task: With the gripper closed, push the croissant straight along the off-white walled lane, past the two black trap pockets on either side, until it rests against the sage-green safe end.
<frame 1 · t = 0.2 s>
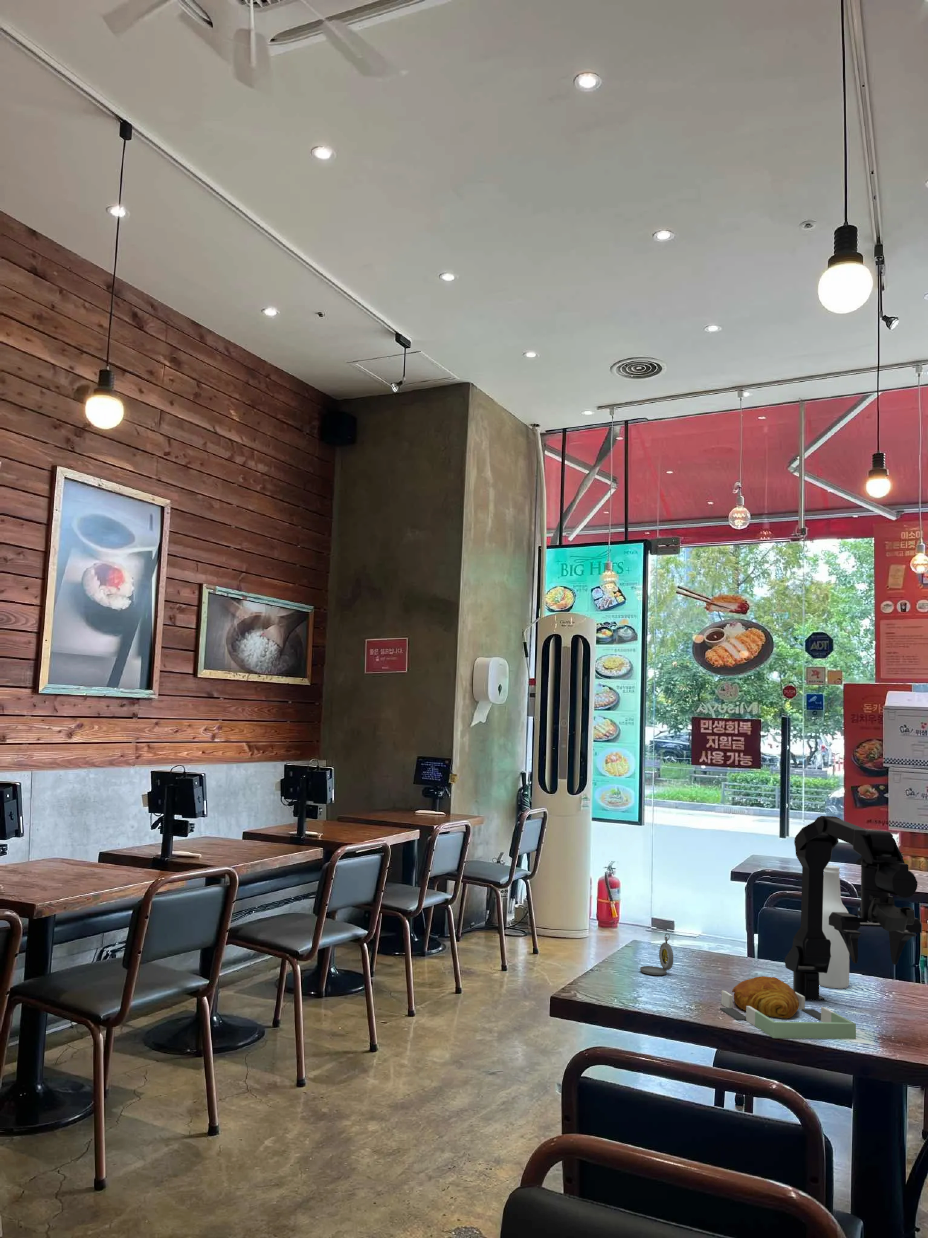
hand: (874, 963, 196), 14 cm above the table, tool pointing down, fingers open, 9 cm apart
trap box: (785, 1021, 200), on the table
pocket watch: (657, 974, 235), on the table
white bottle: (830, 985, 235), on the table
croissant: (765, 1010, 208), on the table
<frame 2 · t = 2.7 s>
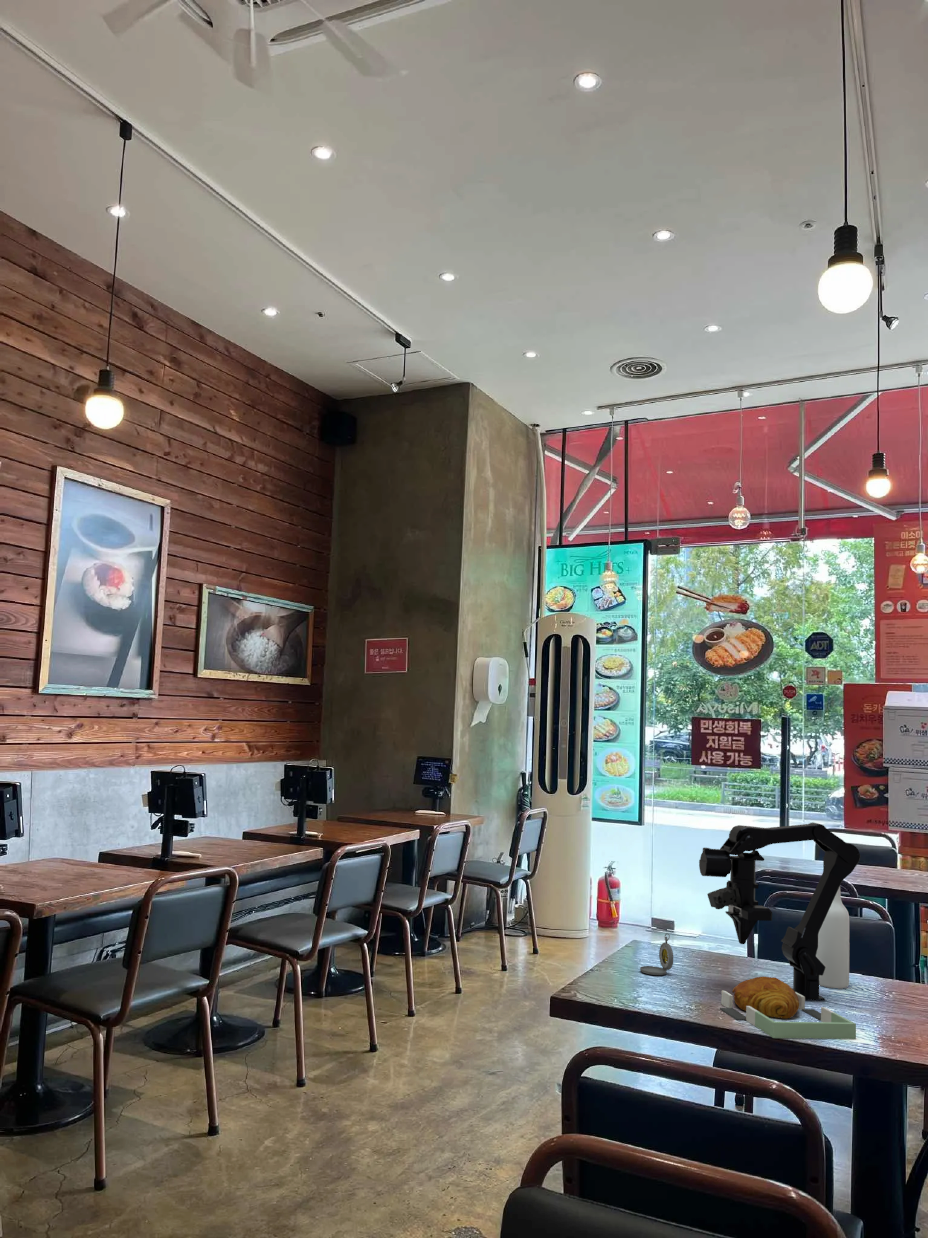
hand: (741, 944, 222), 12 cm above the table, tool pointing down, fingers closed
nothing on the table moved.
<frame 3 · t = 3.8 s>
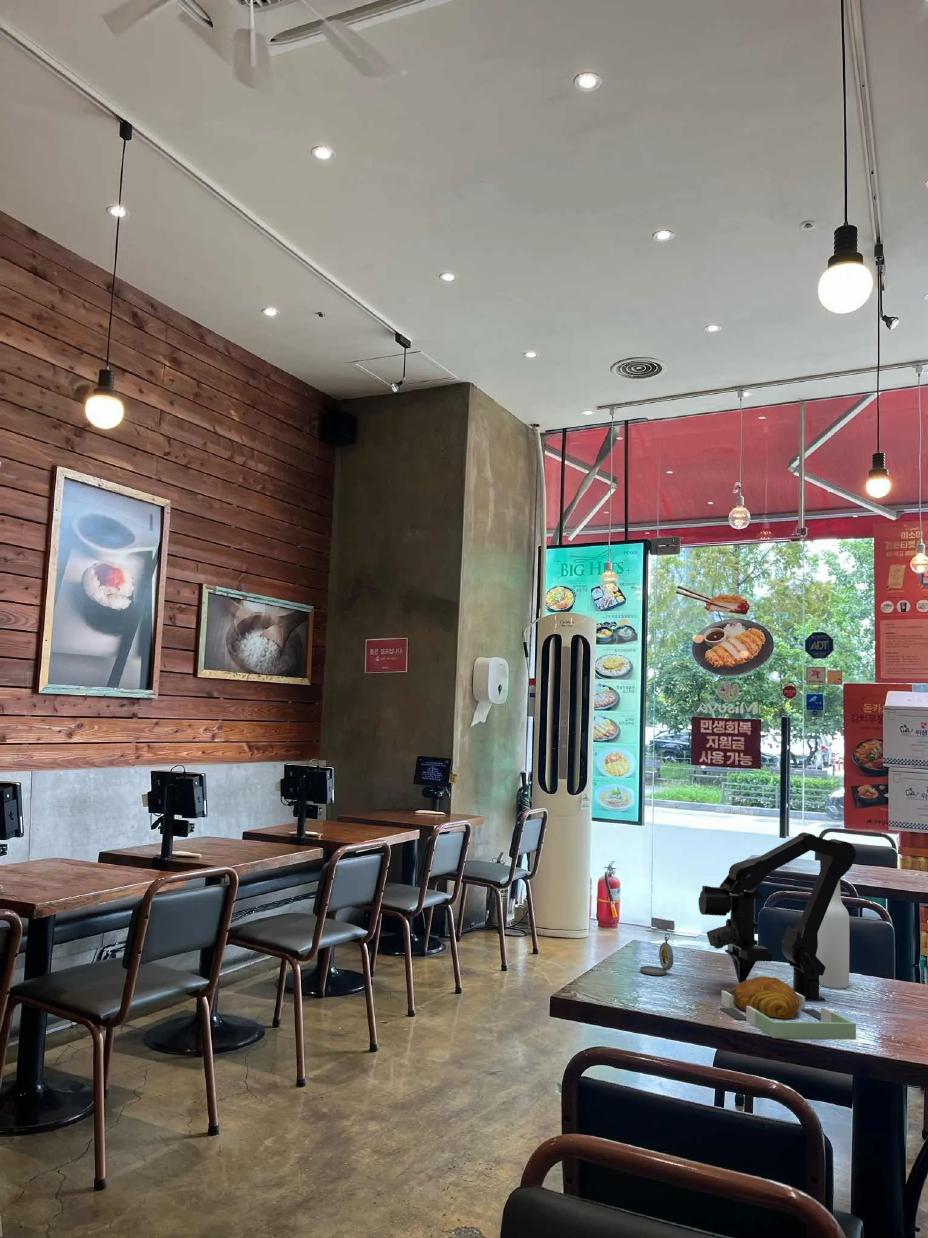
hand: (741, 983, 220), 3 cm above the table, tool pointing down, fingers closed
nothing on the table moved.
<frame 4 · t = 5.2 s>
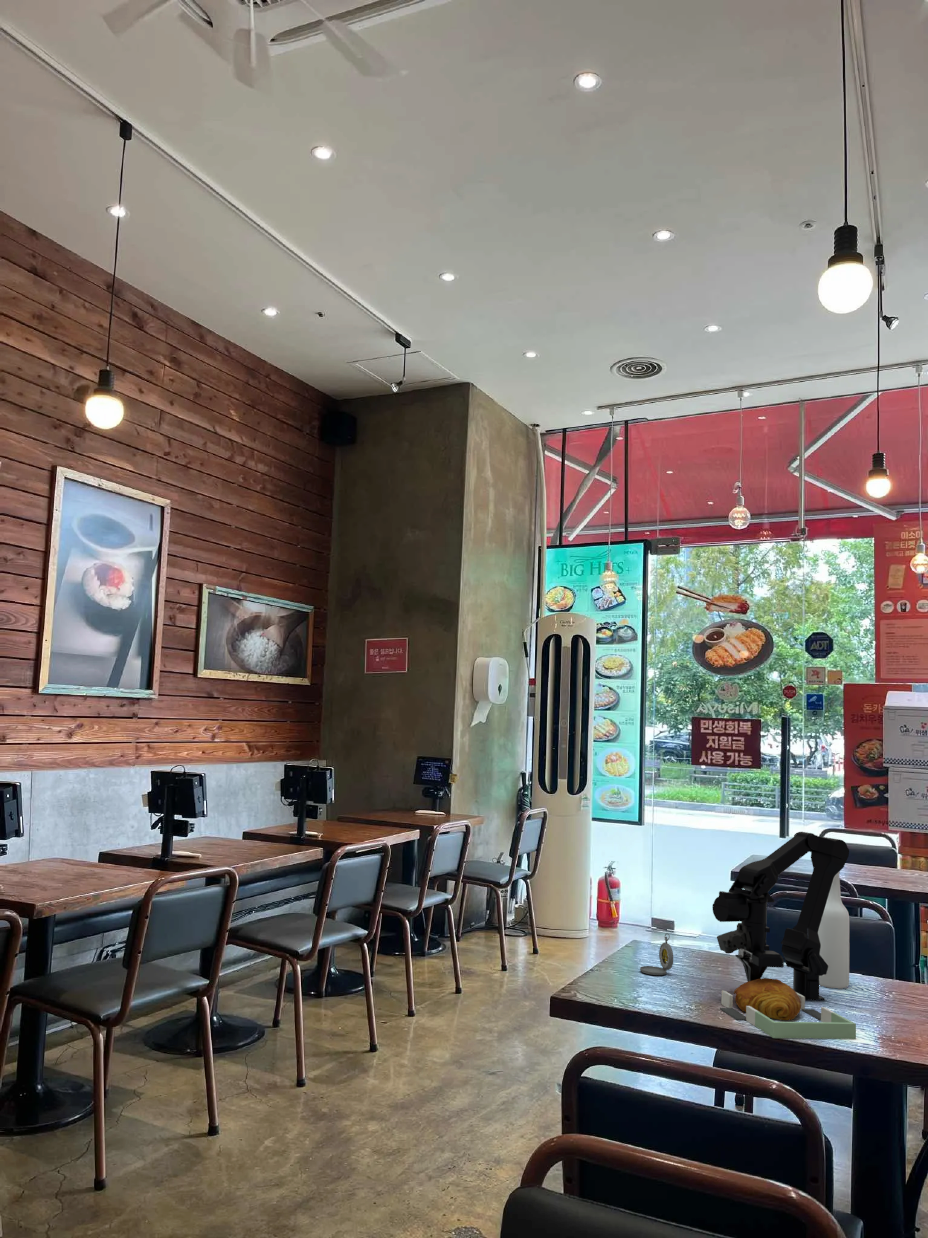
hand: (752, 989, 215), 3 cm above the table, tool pointing down, fingers closed
croissant: (766, 1012, 207), on the table, touching gripper
everything else where it was.
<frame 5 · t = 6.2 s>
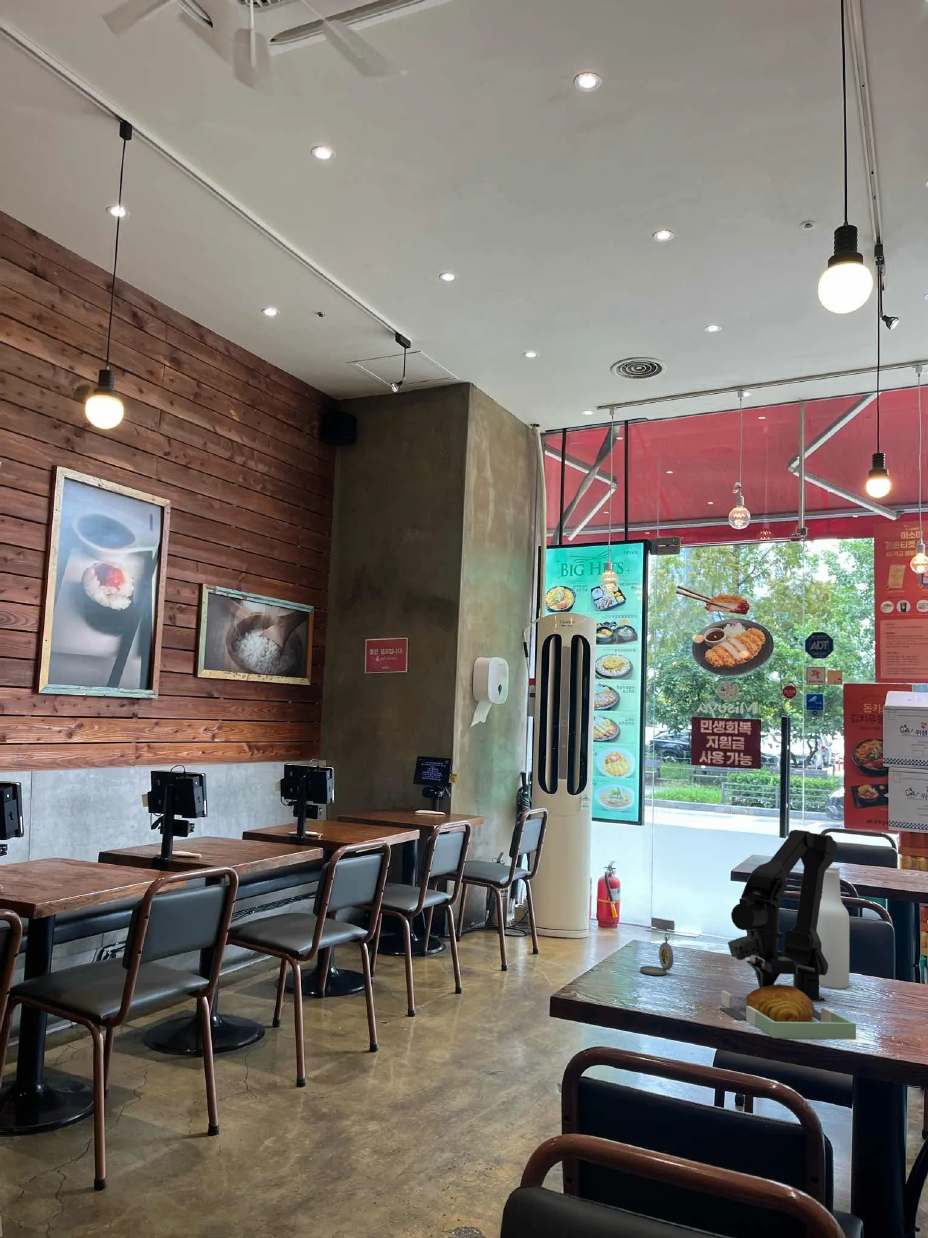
hand: (764, 996, 209), 3 cm above the table, tool pointing down, fingers closed
croissant: (779, 1019, 202), on the table
everything else where it was.
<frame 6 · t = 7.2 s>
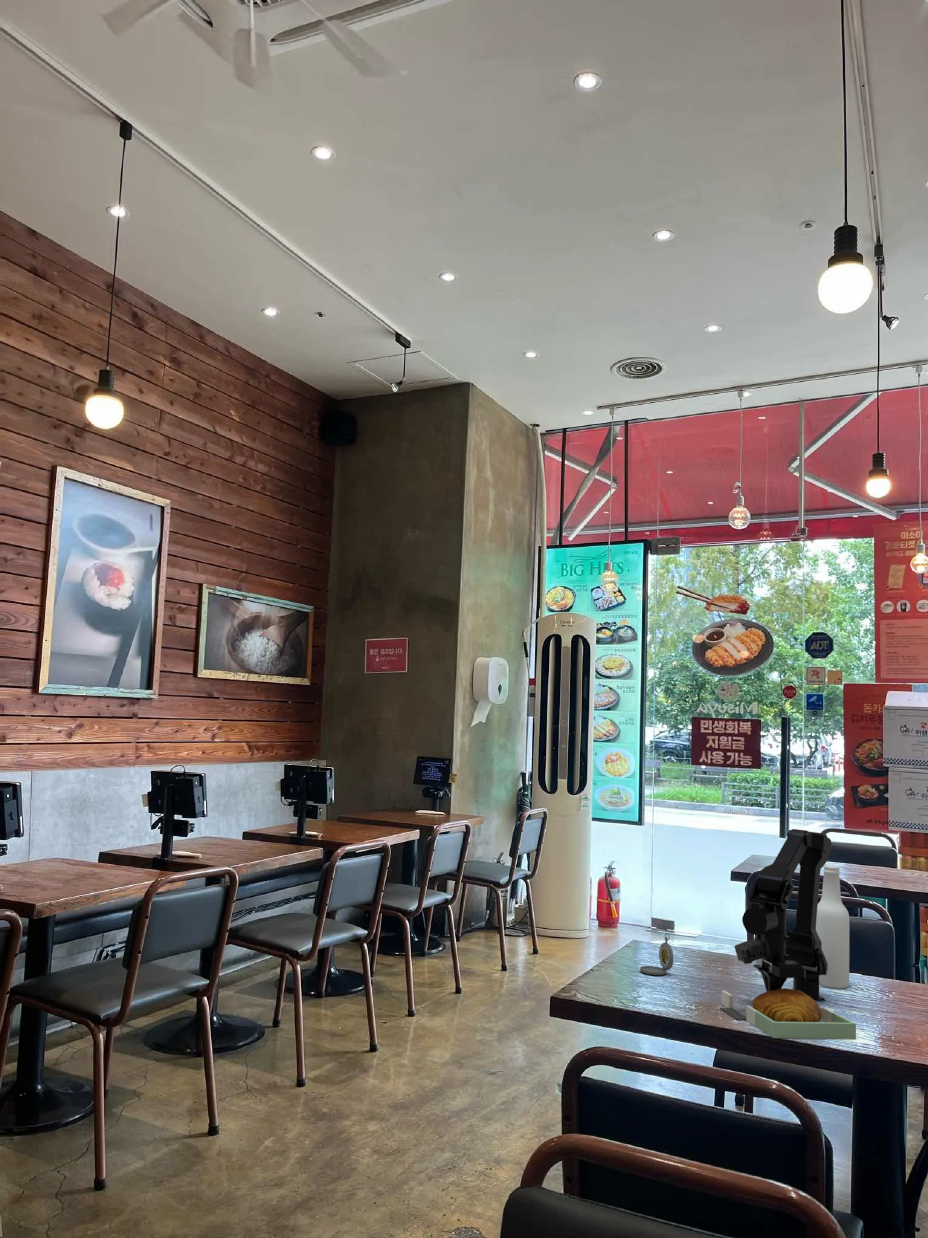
hand: (771, 1000, 206), 3 cm above the table, tool pointing down, fingers closed
croissant: (786, 1024, 198), on the table
everything else where it was.
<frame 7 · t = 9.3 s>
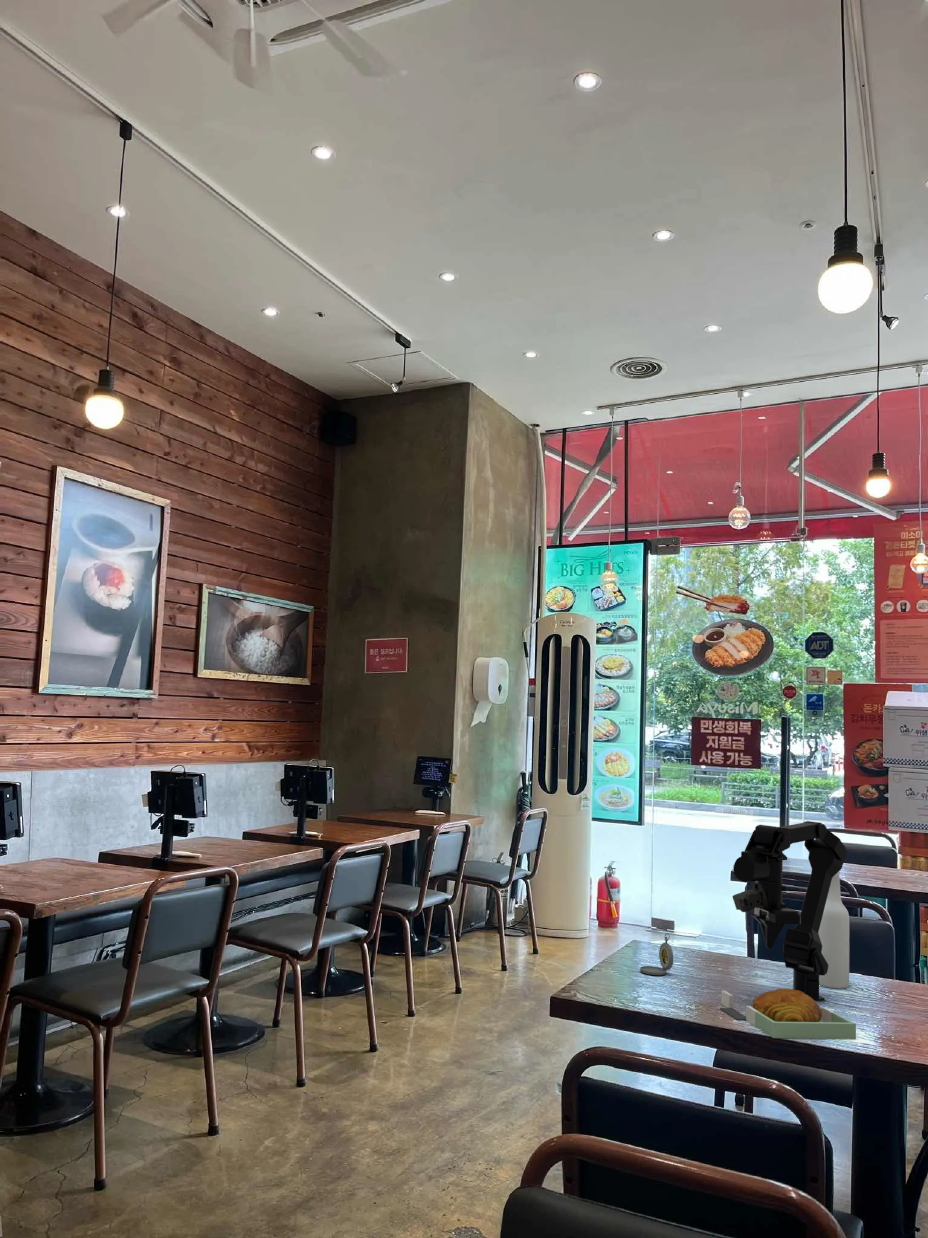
hand: (768, 948, 213), 13 cm above the table, tool pointing down, fingers closed
nothing on the table moved.
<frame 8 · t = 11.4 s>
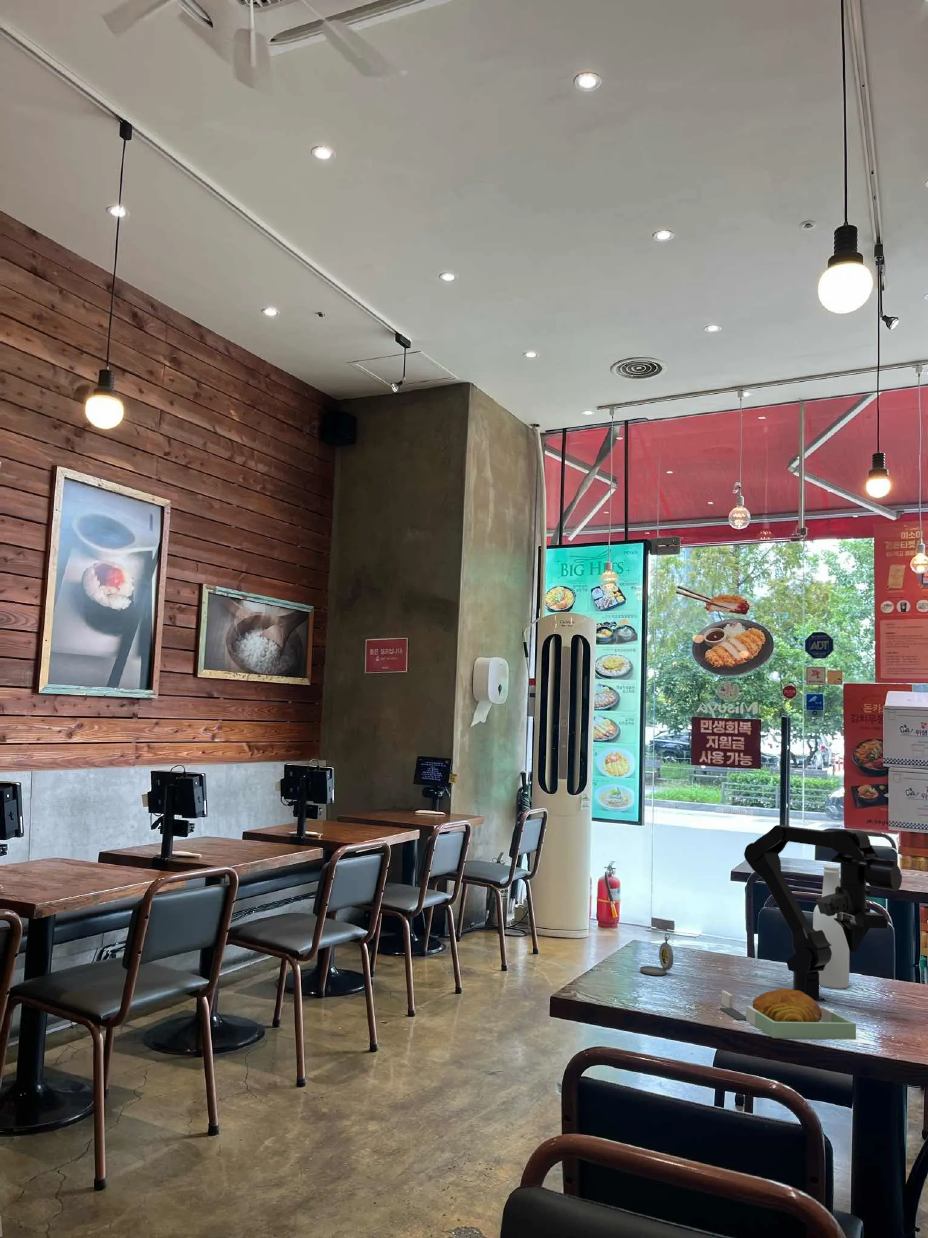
hand: (852, 952, 214), 13 cm above the table, tool pointing down, fingers closed
nothing on the table moved.
at the end: croissant inside the target area (2.2 cm from its centre), on the table; croissant moved 10.4 cm from its start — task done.
